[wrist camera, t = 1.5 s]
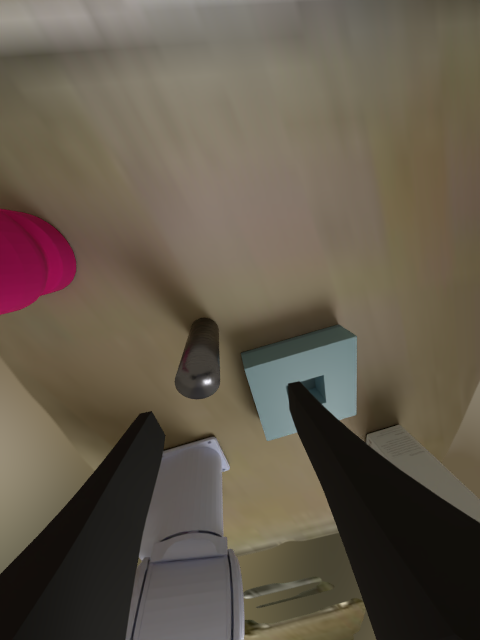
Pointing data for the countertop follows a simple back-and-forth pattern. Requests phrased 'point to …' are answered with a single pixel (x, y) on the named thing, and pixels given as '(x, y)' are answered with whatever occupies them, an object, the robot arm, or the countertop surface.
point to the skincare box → (423, 467)
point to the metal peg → (200, 361)
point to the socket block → (303, 376)
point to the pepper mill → (31, 260)
